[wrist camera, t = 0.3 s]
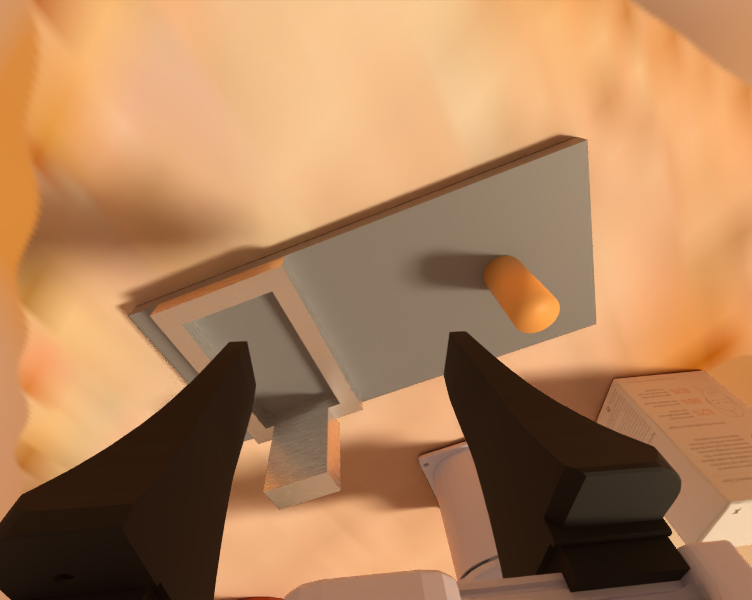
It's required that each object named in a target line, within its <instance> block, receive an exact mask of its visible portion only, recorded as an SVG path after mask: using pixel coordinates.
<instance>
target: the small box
mask: <svg viewBox="0 0 752 600" xmlns="http://www.w3.org/2000/svg"><path fill="white" fill-rule="evenodd" d="M596 423H598V424H601V425H603V426H605V427H607V428H609V429H612V430H614V431H616V432H618V433H621V434H623V435H626V436H629V437H631V438H634V439H636V440H639V441H641V442H644V443H646V444H649V445H652V446H654V447H655V448H656V449H657V450H658V451H659V452H660V453H661V455H662V456H663V457H664V458H665V459H666V460H667V462H668V463H669V464H670V465H671V466H672V467H673V469H674V470H675V471H676V472H677V473H678V474H679V476H680V478H681V480H682V483H681V491H680V493H679V495H678V497H677V499H676V500H675V501H674V503H673V504H672V506H671V507H670V508H669V510H668V511H667V513H666V514H665V515H664V517H665V518H666V519H667V520H668V522H669V523H670V524H671V526H672V527H673V528H674V529H675V531H676V532H677V533H678V535H679V536H680V537H681V539H682V540H683V541H684V542H685V544H691V543H700V542H710V541H720V540H727V541H730V542H731V543H732V545H733V546H734V547H737V546H744V545H752V408H751V407H749V406H748V405H747V404H745V403H744V402H743V401H742V400H740V399H739V398H738V397H737V396H735V395H734V394H733V393H732V392H730V391H729V390H728V389H726V388H725V387H724V386H723V385H721V384H720V383H719V382H717V381H716V380H715V379H714V378H713V377H711V376H710V375H709V374H708V373H706V372H705V371H692V372H681V373H671V374H660V375H649V376H638V377H628V378H618V379H613V381H612V384H611V387H610V389H609V391H608V394H607V396H606V399H605V402H604V404H603V407H602V409H601V411H600V414H599V417H598V419H597V422H596Z"/></svg>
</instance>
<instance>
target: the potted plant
mask: <svg viewBox="0 0 752 600" xmlns="http://www.w3.org/2000/svg"><path fill="white" fill-rule="evenodd" d="M240 600H283V599H279V598H272V597H253V598H246V599H240Z"/></svg>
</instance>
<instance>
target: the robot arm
mask: <svg viewBox="0 0 752 600" xmlns="http://www.w3.org/2000/svg"><path fill="white" fill-rule="evenodd" d="M444 378H445V382H446V387H447V391H448V395H449V398H450V401H451V404H452V407H453V409H454V412H455V414H456V417H457V419H458V422H459V424H460V427H461V429H462V432H463V435H464V437H465V440H466V441H465V442H462V443H459V444H456V445H452V446H449V447H446V448H443V449H440V450H436V451H433V452H430V453H427V454H424V455H421V456H420V457H419V458H418V460H419V464H420V466H421V468H422V470H423V472H424V474H425V476H426V478H427V480H428V482H429V484H430V486H431V488H432V490H433V492H434V494H435V496H436V498H437V500H438V502H439V507H440V511H441V515H442V519H443V523H444V527H445V531H446V535H447V539H448V544H449V548H450V552H451V556H452V560H453V564H454V568H455V572H456V577H457V582H456V579H454V578H453V577H451V576H450V575H447V574H445V573H443V572H441V571H438V570H413V571H403V572H393V573H383V574H373V575H363V576H353V577H343V578H333V579H323V580H319V581H314V582H310V583H306V584H302V585H301V586H299V587H297V588H296V589H294V590H293V591H291V592H289V593H288V594H287V595H286V596H285V598H284V600H752V567H751V566H750V565H749V564H748V562H747V561H746V560H745V559H744V558H743V556H742V555H741V554H740V553H739V552H738V551H737V549H736V548H735V547H734V546H733V545H732V543H731V542H730V541H727V540H720V541H710V542H700V543H691V544H686V545H684V546H681V547H679V548H678V549H676V547H675V546H674V545H673V543H672V542H671V541H670V539H669V538H668V536H670V535H671V534H672V531H671V529H670V527H669V526H668V524H667V523H666V522H665V520H664V519H663V517H664V515H665V514H666V513H667V511H668V510H669V508H670V507H671V506H672V504H673V503H674V501H675V500H676V499H677V497H678V495H679V493H680V491H681V483H682V480H681V478H680V476H679V474H678V473H677V472H676V471H675V470H674V469H673V467H672V466H671V465H670V464H669V463H668V462H667V460H666V459H665V458H664V457H663V456H662V455H661V453H660V452H659V451H658V450H657V449H656V448H655V447H654V446H652V445H649V444H646V443H644V442H641V441H639V440H636V439H634V438H631V437H629V436H626V435H623V434H621V433H618V432H616V431H614V430H612V429H609V428H607V427H605V426H603V425H601V424H598V423H596V422H594V421H592V420H590V419H588V418H586V417H584V416H582V415H580V414H578V413H576V412H575V411H573V410H571V409H569V408H567V407H565V406H564V405H562V404H560V403H558V402H557V401H555V400H553V399H552V398H550V397H548V396H547V395H545V394H544V393H542V392H541V391H539V390H538V389H536V388H535V387H533V386H532V385H530V384H529V383H527V382H526V381H525V380H523V379H522V378H521V377H519V376H518V375H517V374H515V373H514V372H513V371H511V370H510V369H509V368H508V367H506V366H505V365H504V364H503V363H502V362H500V361H499V360H498V359H497V358H496V357H495V356H493V355H492V354H491V353H490V352H489V351H488V350H487V349H485V348H484V347H483V346H482V345H481V344H480V343H479V342H478V341H477V340H475V339H474V338H473V337H472V336H471V335H470V334H469V333H468V332H466V331H457V332H449V339H448V346H447V354H446V361H445V368H444ZM255 390H256V381H255V377H254V372H253V367H252V362H251V357H250V352H249V347H248V342H247V341H237V342H229V343H228V344H227V345H226V346H225V347H224V348H223V349H222V350H221V351H220V352H219V353H218V354H217V355H216V356H215V357H214V358H213V360H212V361H211V362H210V363H209V364H208V365H207V366H206V367H205V368H204V369H203V370H202V371H201V372H200V373H199V374H198V375H197V376H196V377H195V378H194V379H193V380H192V381H191V382H190V383H189V384H188V385H187V386H186V387H185V388H184V389H183V390H182V391H181V392H180V393H179V394H177V395H176V396H175V397H174V398H173V399H172V400H171V401H170V402H169V403H167V404H166V405H165V406H164V407H163V408H162V409H160V410H159V411H158V412H157V413H155V414H154V415H153V416H151V417H150V418H149V419H148V420H146V421H145V422H144V423H142V424H141V425H140V426H138V427H137V428H135V429H134V430H132V431H131V432H130V433H128V434H127V435H125V436H124V437H122V438H121V439H119V440H118V441H117V442H115V443H114V444H112V445H111V446H109V447H107V448H106V449H104V450H103V451H101V452H99V453H98V454H96V455H95V456H93V457H91V458H90V459H88V460H86V461H84V462H83V463H81V464H79V465H78V466H76V467H74V468H72V469H70V470H69V471H67V472H65V473H63V474H61V475H59V476H57V477H55V478H54V479H52V480H50V481H48V482H46V483H44V484H42V485H40V486H38V487H36V488H34V489H32V490H30V491H28V492H26V493H24V494H22V495H21V496H20V497H19V499H18V500H17V501H16V502H15V504H14V505H13V507H12V508H11V509H10V510H9V512H8V513H7V514H6V516H5V517H4V518H3V520H2V521H1V522H0V590H1V591H2V592H3V593H4V594H5V595H6V596H7V597H9V598H10V599H11V600H213V599H214V591H215V583H216V576H217V569H218V562H219V556H220V549H221V542H222V536H223V530H224V524H225V518H226V512H227V507H228V501H229V496H230V490H231V485H232V480H233V476H234V472H235V469H236V465H237V462H238V458H239V455H240V452H241V448H242V445H243V441H244V438H245V435H246V431H247V428H248V424H249V421H250V417H251V414H252V409H253V403H254V397H255Z"/></svg>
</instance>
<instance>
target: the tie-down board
mask: <svg viewBox="0 0 752 600" xmlns="http://www.w3.org/2000/svg"><path fill="white" fill-rule="evenodd" d="M505 255H509V256H513V257H515V258H517V259H518V260H519V261H520V262H521V263H522V264H523V265H524V266H525V267H526V268H527V269H528V270H529V271H530V272H531V273H532V274H533V275H534V276H535V277H536V278H537V279H538V280H539V281H540V282H541V283H542V285H543V286H544V287H545V288H546V289H547V290H548V291H549V292H550V293H551V294H552V295H553V296H554V297H555V298H556V299H557V300H558V302H559V305H560V311H559V314H558V317H557V318H556V320H555V321H554V322H553V323H552V324H551V325H550V326H549V327H547V328H546V329H544V330H542V331H540V332H536V333H524V332H521V331H519V330H518V329H517V328H516V327H515V325H514V324H513V323H512V321H511V320H510V318H509V317H508V316H507V314H506V313H505V311H504V310H503V309H502V307H501V306H500V304H499V303H498V302H497V300H496V299H495V297H494V296H493V295H492V293H491V292H490V290H489V289H488V287H487V286H486V285H485V283H484V280H483V273H484V270H485V268H486V267H487V265H488V264H489V263H490V262H491V261H492V260H494V259H495V258H497V257H500V256H505ZM283 256H285V258H286V260H287V262H288V264H289V265H290V267H291V269H292V271H293V273H294V275H295V276H296V278H297V280H298V282H299V284H300V285H301V287H302V289H303V291H304V293H305V295H306V296H307V298H308V300H309V302H310V304H311V305H312V307H313V309H314V311H315V313H316V315H317V316H318V318H319V320H320V322H321V324H322V325H323V327H324V329H325V331H326V333H327V335H328V336H329V338H330V340H331V342H332V344H333V345H334V347H335V349H336V351H337V353H338V355H339V356H340V358H341V360H342V362H343V364H344V365H345V367H346V369H347V371H348V373H349V375H350V376H351V378H352V380H353V382H354V384H355V385H356V387H357V389H358V391H359V393H360V395H361V396H362V402H364V401H367V400H370V399H373V398H376V397H379V396H382V395H385V394H388V393H391V392H394V391H397V390H400V389H403V388H406V387H409V386H412V385H415V384H418V383H421V382H424V381H427V380H430V379H433V378H436V377H439V376H442V375H444V368H445V361H446V354H447V346H448V339H449V332H457V331H466V332H468V333H469V334H470V335H471V336H472V337H473V338H474V339H475V340H477V341H478V342H479V343H480V344H481V345H482V346H483V347H484V348H485V349H487V350H488V351H489V352H490V353H491V354H492V355H493V356H495V357H499V356H502V355H505V354H508V353H511V352H514V351H517V350H520V349H523V348H526V347H529V346H532V345H535V344H538V343H541V342H544V341H547V340H550V339H553V338H556V337H559V336H562V335H565V334H568V333H571V332H574V331H577V330H580V329H583V328H586V327H589V326H592V325H595V324H596V306H595V286H594V265H593V245H592V225H591V204H590V184H589V163H588V143H587V140H586V139H583V138H579V137H575V138H572V139H570V140H567V141H565V142H562V143H559V144H557V145H554V146H552V147H549V148H546V149H544V150H541V151H539V152H536V153H533V154H531V155H528V156H526V157H523V158H521V159H518V160H515V161H513V162H510V163H508V164H505V165H502V166H500V167H497V168H495V169H492V170H489V171H487V172H484V173H482V174H479V175H476V176H474V177H471V178H469V179H466V180H464V181H461V182H458V183H456V184H453V185H451V186H448V187H445V188H443V189H440V190H438V191H435V192H432V193H430V194H427V195H425V196H422V197H419V198H417V199H414V200H412V201H409V202H407V203H404V204H401V205H399V206H396V207H394V208H391V209H388V210H386V211H383V212H381V213H378V214H375V215H373V216H370V217H368V218H365V219H362V220H360V221H357V222H355V223H352V224H349V225H347V226H344V227H342V228H339V229H337V230H334V231H331V232H329V233H326V234H324V235H321V236H318V237H316V238H313V239H311V240H308V241H305V242H303V243H300V244H298V245H295V246H292V247H290V248H287V249H285V250H282V251H280V252H277V253H274V254H272V255H269V256H267V257H264V258H261V259H259V260H256V261H254V262H251V263H248V264H246V265H243V266H241V267H238V268H235V269H233V270H230V271H228V272H225V273H223V274H220V275H217V276H215V277H212V278H210V279H207V280H204V281H202V282H199V283H197V284H194V285H191V286H189V287H186V288H184V289H181V290H178V291H176V292H173V293H171V294H168V295H165V296H163V297H160V298H158V299H155V300H153V301H150V302H147V303H145V304H142V305H140V306H137V307H135V309H134V310H133V311H132V312H131V313H130V315H129V318H130V319H131V320H132V321H133V322H134V323H135V324H136V325H137V327H138V328H139V329H140V330H141V331H142V332H143V333H144V334H145V335H146V337H147V338H148V339H149V340H150V341H151V342H152V343H153V344H154V346H155V347H156V348H157V349H158V350H159V351H160V352H161V353H162V355H163V356H164V357H165V358H166V359H167V360H168V361H169V362H170V364H171V365H172V366H173V367H174V368H175V369H176V370H177V371H178V373H179V374H180V375H181V376H182V377H183V378H184V379H185V380H186V382H187V383H188V384H189V383H190V382H191V381H192V380H193V379H194V378H195V377H196V376H197V375H198V374H199V373H198V372H197V371H196V370H195V369H194V368H193V366H192V365H191V364H190V363H189V362H188V360H187V359H186V358H185V357H184V356H183V355H182V353H181V352H180V351H179V350H178V349H177V348H176V346H175V345H174V344H173V343H172V342H171V341H170V339H169V338H168V337H167V336H166V335H165V333H164V332H163V331H162V330H161V329H160V328H159V326H158V325H157V324H156V323H155V322H154V321H153V319H152V318H151V317H150V315H151V314H152V312H153V311H154V310H155V308H156V307H157V306H158V304H161V303H164V302H166V301H169V300H171V299H174V298H177V297H179V296H182V295H184V294H187V293H190V292H192V291H195V290H197V289H200V288H203V287H205V286H208V285H210V284H213V283H216V282H218V281H221V280H223V279H226V278H229V277H231V276H234V275H236V274H239V273H242V272H244V271H247V270H249V269H252V268H255V267H257V266H260V265H263V264H265V263H268V262H270V261H273V260H276V259H278V258H281V257H283ZM195 322H196V323H197V324H198V326H199V327H200V328H201V330H202V331H203V332H204V333H205V335H206V336H207V337H208V339H209V340H210V341H211V342H212V344H213V345H214V346H215V348H216V349H217V350H218V351H219V352H220V351H221V350H222V349H223V348H224V347H225V346H226V345H227V344H228V343H229V342H237V341H247V342H248V347H249V352H250V357H251V362H252V367H253V372H254V377H255V381H256V390H255V397H254V398H255V399H256V400H257V402H258V403H259V404H260V405H261V407H262V408H263V409H264V411H265V412H266V413H267V414H268V415H271V414H274V413H277V412H280V411H283V410H286V409H289V408H291V407H294V406H297V405H300V404H303V403H306V402H309V401H312V400H315V399H318V398H321V397H324V396H327V395H330V394H333V391H332V390H331V388H330V386H329V385H328V383H327V381H326V380H325V378H324V376H323V375H322V373H321V371H320V370H319V368H318V366H317V365H316V363H315V361H314V360H313V358H312V356H311V355H310V353H309V351H308V350H307V348H306V346H305V345H304V343H303V342H302V340H301V338H300V337H299V335H298V333H297V332H296V330H295V328H294V327H293V325H292V323H291V322H290V320H289V318H288V317H287V315H286V313H285V312H284V310H283V308H282V307H281V305H280V303H279V302H278V300H277V298H276V297H275V295H274V294H273V292H269V293H267V294H264V295H261V296H259V297H256V298H253V299H251V300H248V301H245V302H243V303H240V304H237V305H235V306H232V307H229V308H227V309H224V310H221V311H219V312H216V313H213V314H211V315H208V316H205V317H203V318H200V319H197V320H195ZM250 439H253V437H252V436H251V434H250V433H249V432H248V431H246V435H245V438H244V441H247V440H250ZM244 441H243V442H244Z"/></svg>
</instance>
